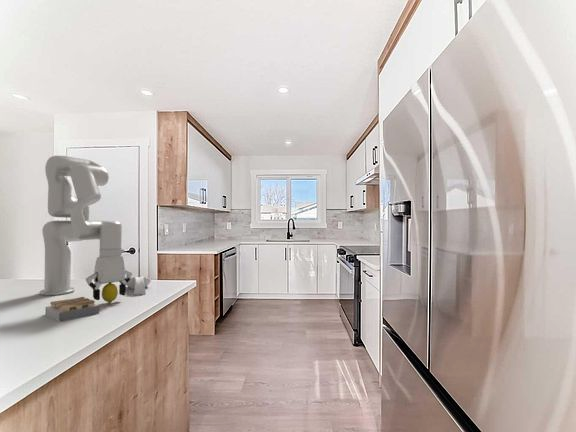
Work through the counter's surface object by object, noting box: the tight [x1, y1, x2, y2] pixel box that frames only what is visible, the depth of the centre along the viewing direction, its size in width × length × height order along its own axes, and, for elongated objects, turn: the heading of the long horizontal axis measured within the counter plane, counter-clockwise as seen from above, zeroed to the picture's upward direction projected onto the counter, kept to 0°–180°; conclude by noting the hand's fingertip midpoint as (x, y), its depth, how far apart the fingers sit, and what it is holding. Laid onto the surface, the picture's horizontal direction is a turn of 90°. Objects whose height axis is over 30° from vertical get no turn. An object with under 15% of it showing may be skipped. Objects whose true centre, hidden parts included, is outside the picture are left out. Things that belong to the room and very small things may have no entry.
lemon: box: [101, 282, 119, 304], centre depth 131 cm, size 6×6×8 cm
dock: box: [44, 303, 100, 322], centre depth 115 cm, size 12×12×3 cm
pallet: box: [50, 296, 96, 312], centre depth 116 cm, size 10×10×2 cm
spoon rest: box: [126, 275, 152, 296], centre depth 155 cm, size 24×12×7 cm, turn 28°
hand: (109, 297), depth 131 cm, fingers open, 9 cm apart
